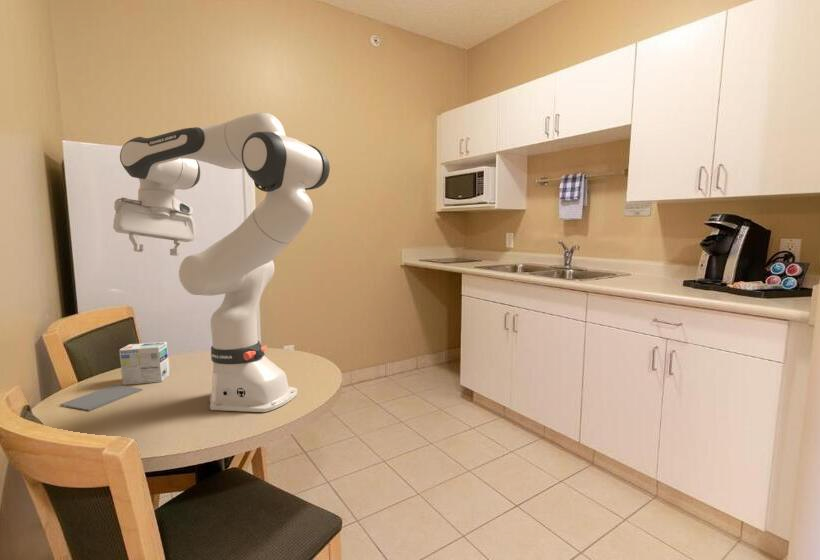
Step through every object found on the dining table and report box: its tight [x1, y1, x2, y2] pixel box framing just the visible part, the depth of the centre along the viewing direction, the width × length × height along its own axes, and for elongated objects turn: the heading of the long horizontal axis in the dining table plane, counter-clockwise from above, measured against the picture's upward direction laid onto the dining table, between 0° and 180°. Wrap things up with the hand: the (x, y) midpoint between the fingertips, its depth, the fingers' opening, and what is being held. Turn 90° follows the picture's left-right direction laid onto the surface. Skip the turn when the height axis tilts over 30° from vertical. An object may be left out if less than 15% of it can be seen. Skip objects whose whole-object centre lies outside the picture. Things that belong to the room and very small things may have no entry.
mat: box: [59, 384, 144, 412], centre depth 108 cm, size 11×14×1 cm
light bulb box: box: [118, 341, 171, 386], centre depth 121 cm, size 11×7×11 cm, turn 102°
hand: (157, 253), depth 111 cm, fingers open, 8 cm apart
